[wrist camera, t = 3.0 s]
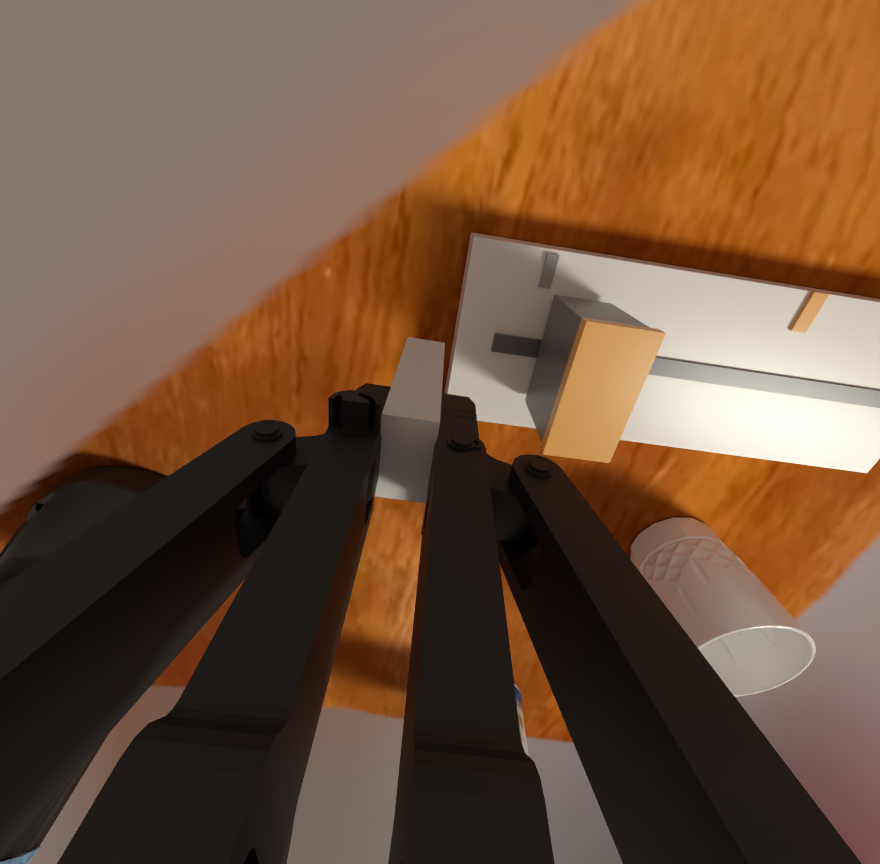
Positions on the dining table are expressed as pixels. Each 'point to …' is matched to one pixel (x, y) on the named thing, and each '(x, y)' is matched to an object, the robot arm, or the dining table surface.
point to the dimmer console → (684, 352)
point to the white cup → (722, 606)
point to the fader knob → (588, 377)
